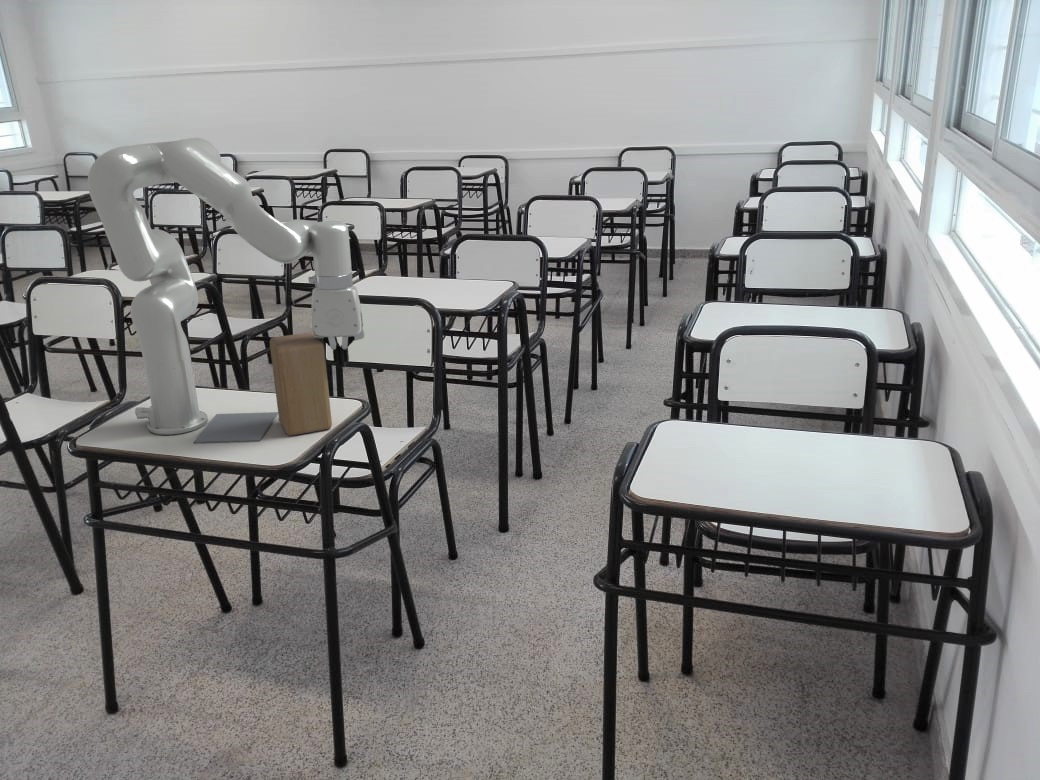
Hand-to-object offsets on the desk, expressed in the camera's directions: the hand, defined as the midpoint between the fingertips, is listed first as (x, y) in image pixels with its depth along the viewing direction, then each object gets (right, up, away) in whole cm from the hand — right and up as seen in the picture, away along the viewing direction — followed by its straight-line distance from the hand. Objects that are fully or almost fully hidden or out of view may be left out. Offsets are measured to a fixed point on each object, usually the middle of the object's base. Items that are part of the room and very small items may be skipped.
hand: (341, 365), depth 182 cm
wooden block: (-9, -14, +5) cm, 17 cm away
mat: (-24, -14, +4) cm, 28 cm away
